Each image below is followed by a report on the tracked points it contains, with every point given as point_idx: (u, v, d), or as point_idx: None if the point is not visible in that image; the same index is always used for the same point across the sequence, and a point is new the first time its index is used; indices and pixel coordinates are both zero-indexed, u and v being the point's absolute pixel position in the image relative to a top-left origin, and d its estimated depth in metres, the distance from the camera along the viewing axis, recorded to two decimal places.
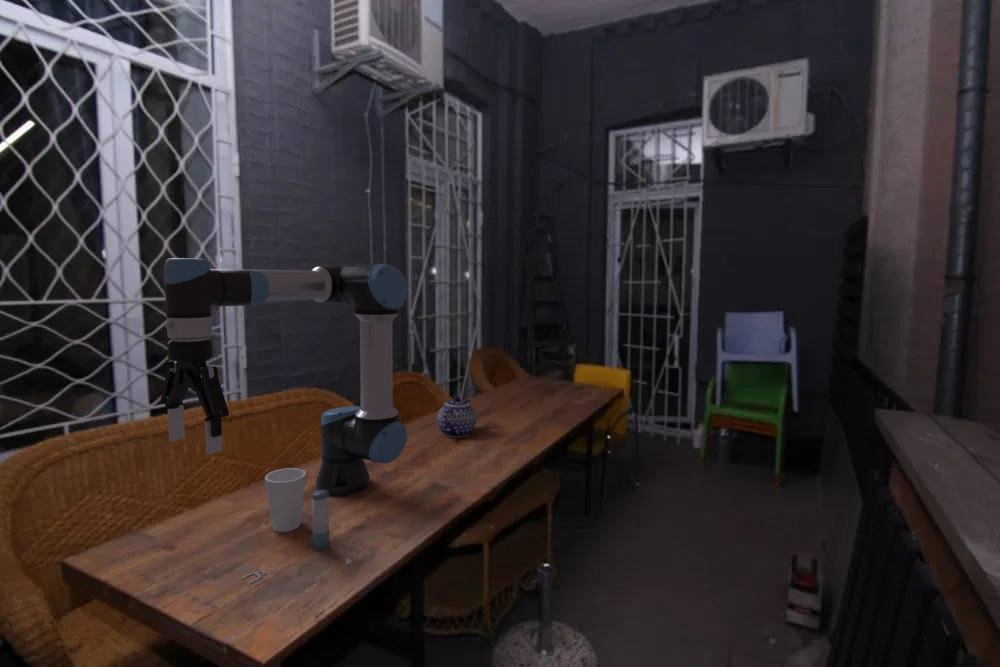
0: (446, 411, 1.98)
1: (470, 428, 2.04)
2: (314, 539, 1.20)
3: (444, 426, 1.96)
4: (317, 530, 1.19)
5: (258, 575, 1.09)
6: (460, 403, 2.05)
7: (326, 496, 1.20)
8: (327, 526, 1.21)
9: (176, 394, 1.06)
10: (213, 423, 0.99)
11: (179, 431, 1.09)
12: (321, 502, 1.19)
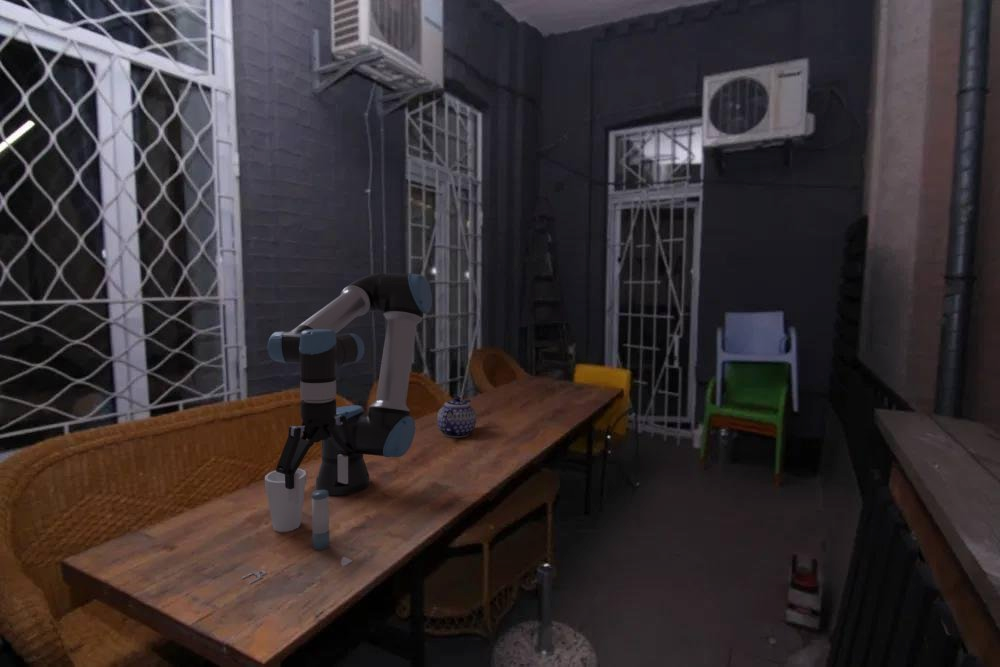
0: (446, 411, 1.98)
1: (470, 428, 2.04)
2: (314, 539, 1.20)
3: (444, 426, 1.96)
4: (317, 530, 1.19)
5: (258, 575, 1.09)
6: (460, 403, 2.05)
7: (326, 496, 1.20)
8: (327, 526, 1.21)
9: (333, 443, 1.23)
10: None
11: (342, 476, 1.25)
12: (321, 502, 1.19)
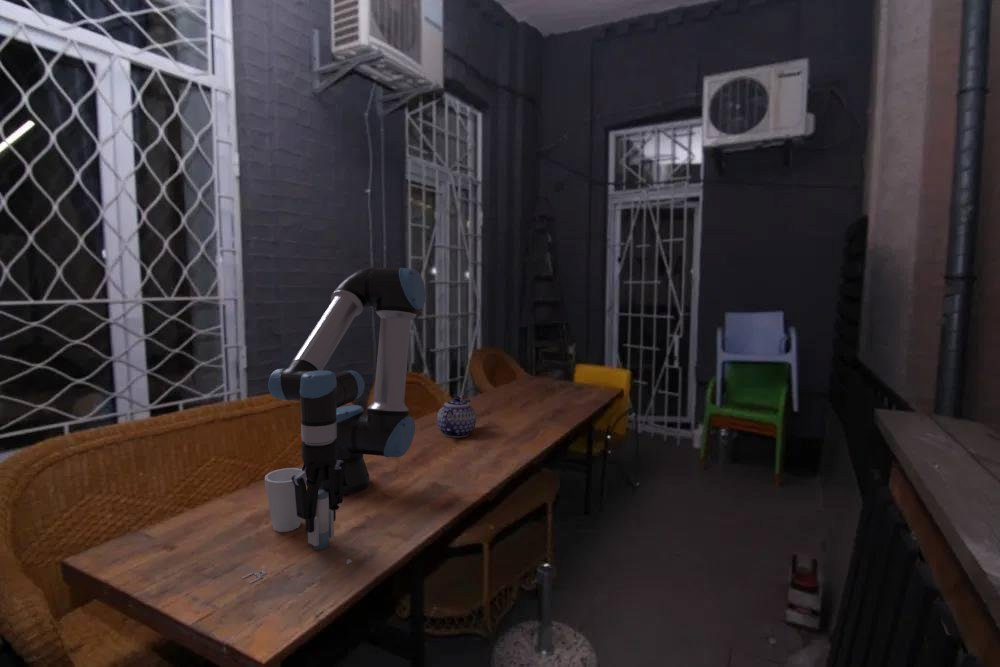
0: (446, 411, 1.98)
1: (470, 428, 2.04)
2: None
3: (444, 426, 1.96)
4: None
5: (258, 575, 1.09)
6: (460, 403, 2.05)
7: (326, 496, 1.20)
8: (327, 526, 1.21)
9: None
10: None
11: None
12: (321, 502, 1.19)
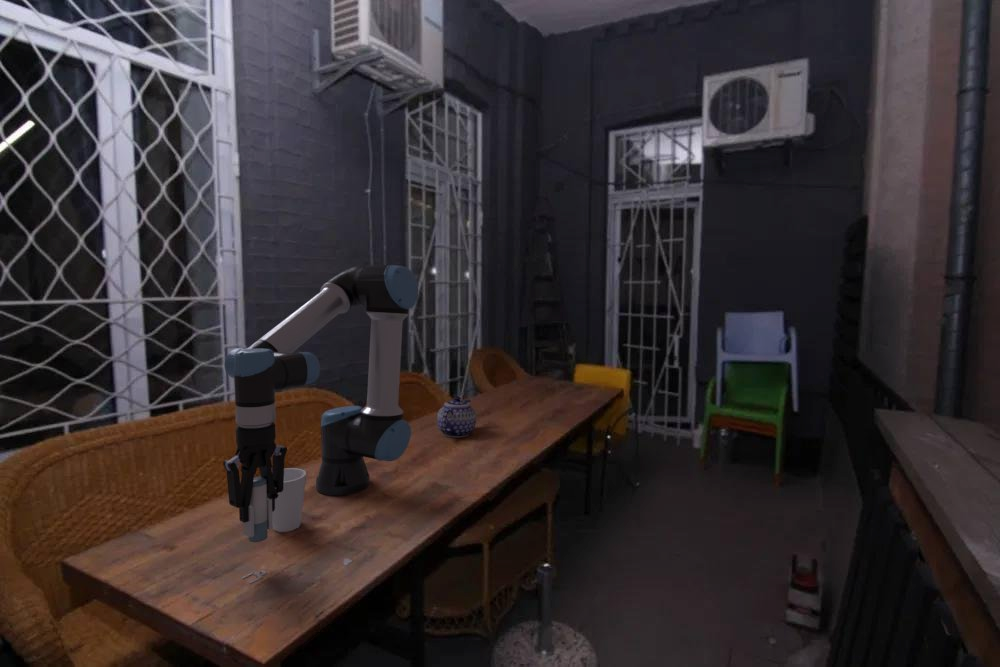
0: (446, 411, 1.98)
1: (470, 428, 2.04)
2: None
3: (444, 426, 1.96)
4: None
5: (258, 575, 1.09)
6: (460, 403, 2.05)
7: (263, 483, 1.11)
8: (264, 516, 1.12)
9: None
10: None
11: None
12: (257, 490, 1.11)
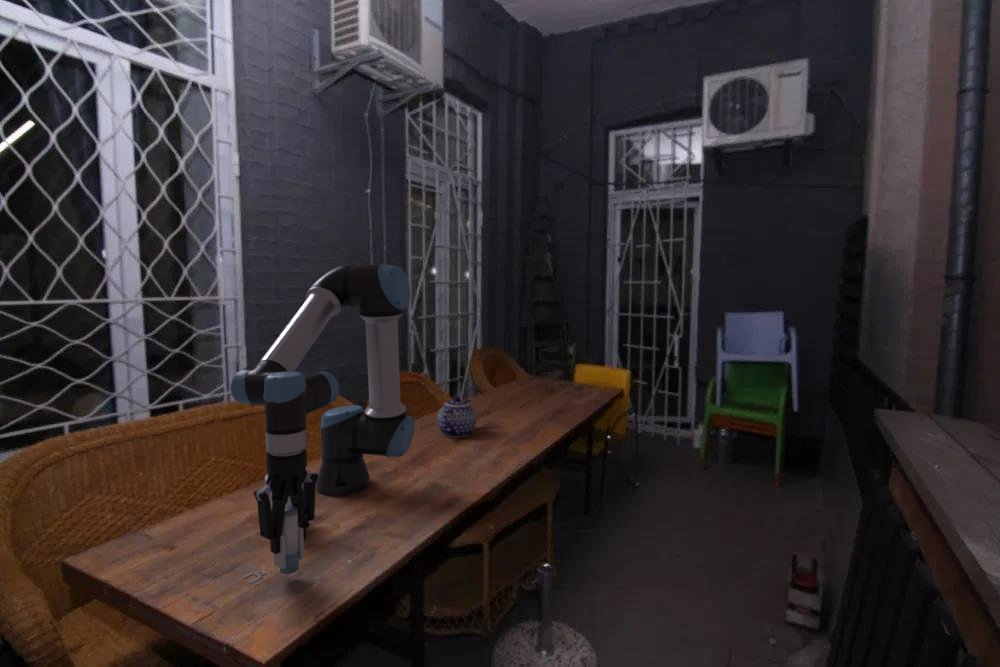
0: (446, 411, 1.98)
1: (470, 428, 2.04)
2: None
3: (444, 426, 1.96)
4: None
5: (258, 575, 1.09)
6: (460, 403, 2.05)
7: (294, 512, 1.07)
8: (296, 546, 1.08)
9: None
10: None
11: None
12: (289, 519, 1.06)
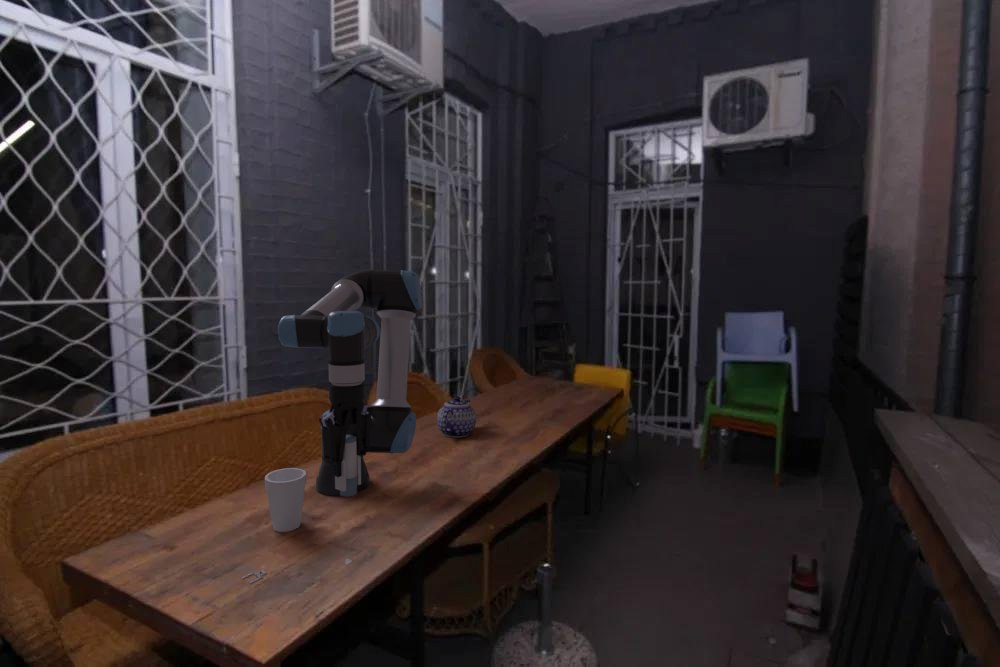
0: (446, 411, 1.98)
1: (470, 428, 2.04)
2: None
3: (444, 426, 1.96)
4: None
5: (258, 575, 1.09)
6: (460, 403, 2.05)
7: (354, 440, 1.16)
8: (355, 471, 1.17)
9: None
10: None
11: None
12: (349, 446, 1.15)
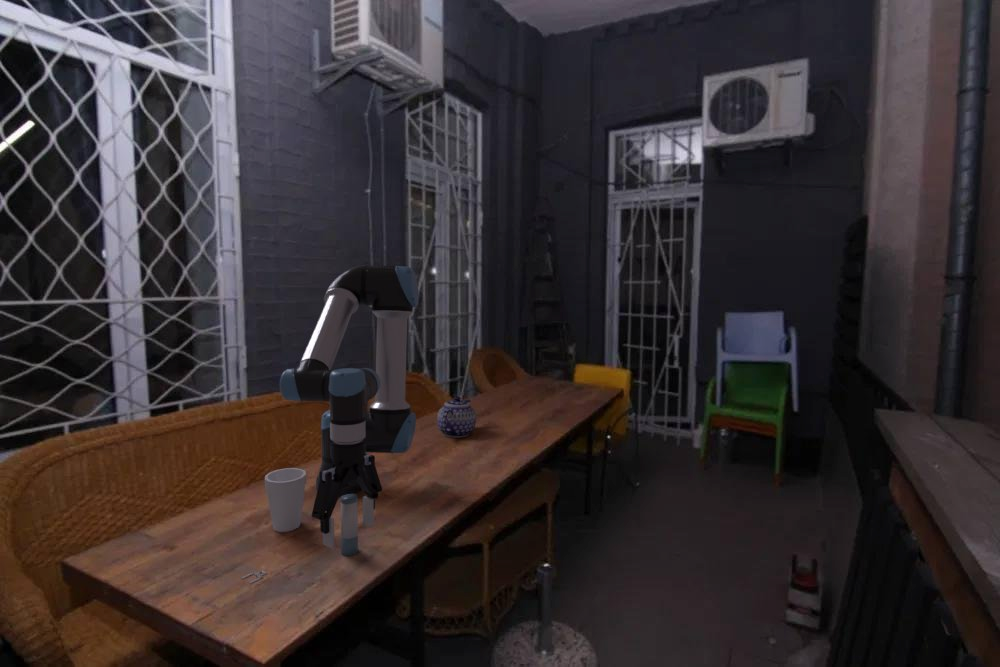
0: (446, 411, 1.98)
1: (470, 428, 2.04)
2: (343, 544, 1.18)
3: (444, 426, 1.96)
4: (346, 535, 1.17)
5: (258, 575, 1.09)
6: (460, 403, 2.05)
7: (355, 500, 1.18)
8: (356, 531, 1.19)
9: (360, 484, 1.22)
10: None
11: (368, 519, 1.24)
12: (350, 506, 1.17)
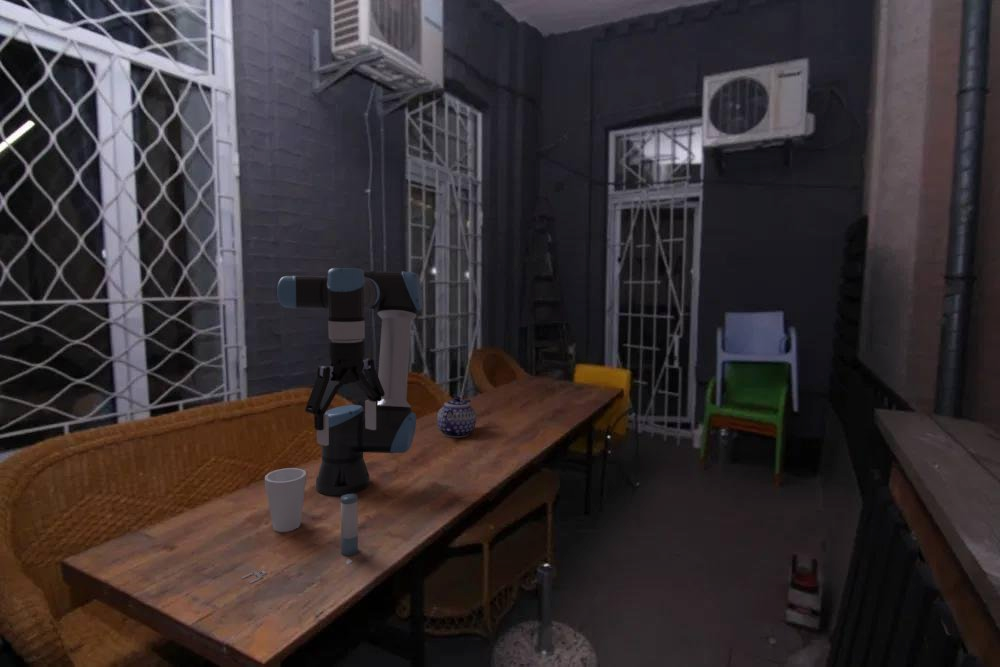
0: (446, 411, 1.98)
1: (470, 428, 2.04)
2: (343, 544, 1.18)
3: (444, 426, 1.96)
4: (346, 535, 1.17)
5: (258, 575, 1.09)
6: (460, 403, 2.05)
7: (355, 500, 1.18)
8: (356, 531, 1.19)
9: (361, 388, 1.20)
10: None
11: (370, 422, 1.22)
12: (350, 506, 1.17)
